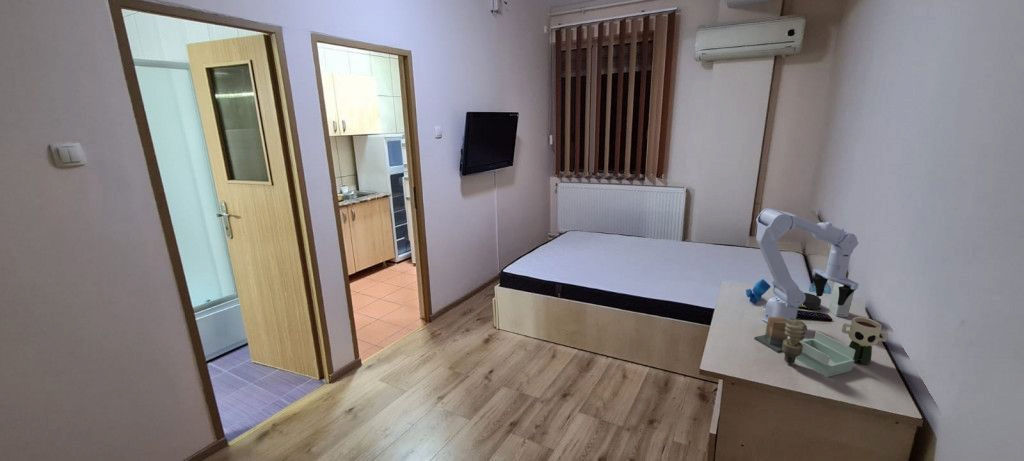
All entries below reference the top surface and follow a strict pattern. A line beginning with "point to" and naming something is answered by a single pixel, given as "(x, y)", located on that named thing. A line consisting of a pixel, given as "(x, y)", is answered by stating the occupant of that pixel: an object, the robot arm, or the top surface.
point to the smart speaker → (812, 301)
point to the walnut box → (776, 330)
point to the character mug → (864, 337)
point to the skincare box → (834, 307)
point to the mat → (773, 346)
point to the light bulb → (793, 339)
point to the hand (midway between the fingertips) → (829, 300)
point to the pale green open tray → (826, 355)
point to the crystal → (757, 291)
